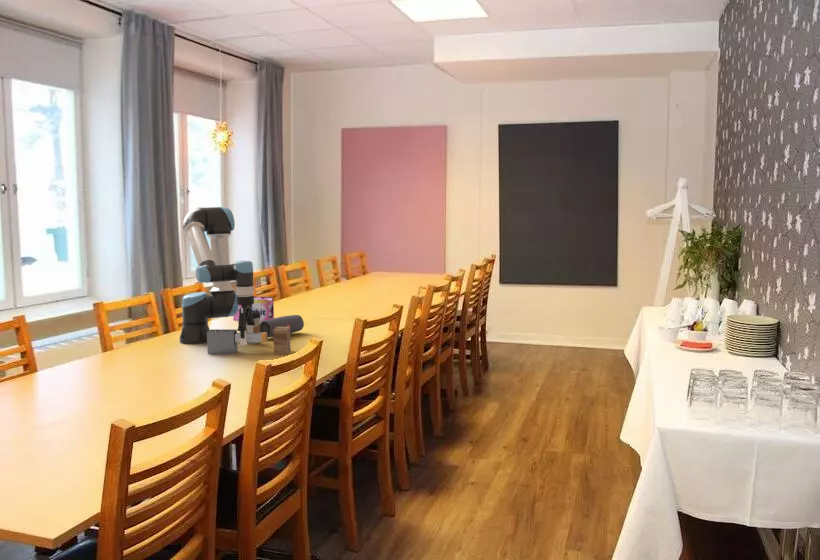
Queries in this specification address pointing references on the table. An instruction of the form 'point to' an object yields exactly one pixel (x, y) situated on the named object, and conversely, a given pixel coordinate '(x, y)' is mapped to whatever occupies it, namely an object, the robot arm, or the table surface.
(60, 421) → the table surface
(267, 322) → the bluetooth speaker
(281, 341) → the socket
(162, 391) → the table surface
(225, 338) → the grey rectangular block
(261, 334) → the orange-tipped grey stick
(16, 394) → the table surface
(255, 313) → the coffee cup
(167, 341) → the table surface
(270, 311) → the gum box
